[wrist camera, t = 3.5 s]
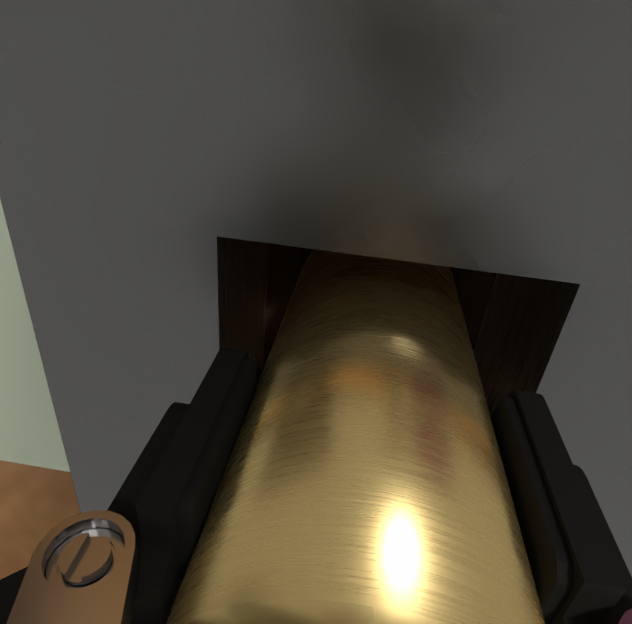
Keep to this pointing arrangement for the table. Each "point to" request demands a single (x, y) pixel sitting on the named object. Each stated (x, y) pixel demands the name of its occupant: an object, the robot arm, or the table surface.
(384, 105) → the housing
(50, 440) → the board
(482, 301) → the table surface
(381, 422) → the tan cylindrical piece
